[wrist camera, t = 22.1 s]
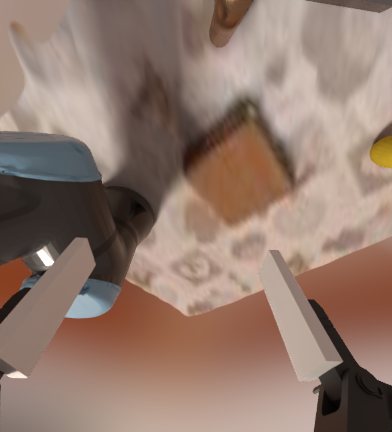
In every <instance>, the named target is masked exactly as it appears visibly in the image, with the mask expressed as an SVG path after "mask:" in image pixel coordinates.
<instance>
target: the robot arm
mask: <svg viewBox="0 0 392 432" xmlns="http://www.w3.org/2000/svg"><path fill="white" fill-rule="evenodd" d="M101 179H102V175H101V173H100V172H99V171H98V169H97V166H96V163H95V161H94V158H93V156H92V153H91V151H90V149H89V148H88V146H87V145H86V144H85V143H83V142H82V141H80V140H78V139H76V138H73V137H69V136H64V135H57V134H47V133H33V132H11V131H0V266H1V265H3V264H6V263H8V262H11V261H14V260H16V259H18V258H20V259H21V260H22V261H23V262H24V263H25V264H26V265H27V267H28V268H29V269H30V271H31V272H32V274H31V276H30V277H28V278H27V279H25V280H24V281H23V283H22V286H21V288H20V290H19V292H17V293H16V294H14V295H13V296H12V297H11V298H10V299H9V300H8V301H7V302H6V303H5V304H4V305H3V308H1V309H0V379H1V377H2V376H3V374H6V375H7V376H9V377H10V378H28V377H29V376H30V374H31V372H32V371H33V369H34V367H35V366H36V364H37V362H38V361H39V359H40V357H41V356H42V354H43V352H44V351H45V349H46V347H47V346H48V344H49V342H50V340H51V339H52V337H53V336H54V334H55V332H56V331H57V329H58V327H59V326H60V324H61V322H62V321H63V319H64V317H69V318H90V317H95V316H99V315H102V314H103V313H105V312H107V311H108V310H110V308H111V307H112V306H113V304H114V302H115V300H116V299H117V297H118V294H119V293H120V292H121V287H122V284H123V282H124V279H125V276H126V274H127V271H128V268H129V266H130V263H131V261H132V258H133V255H134V253H135V250H136V247H137V246H138V245H139V244H140V243H141V242H142V241H143V240H144V239H145V238H146V237H147V236H148V234H149V233H150V231H151V229H152V226H153V223H154V214H153V210H152V208H151V206H150V205H149V203H148V202H147V201H146V200H145V199H144V198H143V197H142V196H141V195H139V194H138V193H136V192H134V191H132V190H130V189H127V188H123V187H108V188H105V189H104V186H103V183H102V180H101ZM258 275H259V278H260V280H261V283H262V286H263V288H264V291H265V293H266V296H267V299H268V301H269V304H270V307H271V309H272V312H273V314H274V317H275V320H276V322H277V325H278V327H279V330H280V333H281V335H282V338H283V341H284V343H285V346H286V349H287V351H288V354H289V357H290V359H291V362H292V364H293V367H294V370H295V372H296V375H297V378H298V380H299V381H314V380H315V379H317V378H318V377H319V379H320V381H321V383H322V384H321V385H319V386H317V387H315V388H314V390H313V393H314V394H316V393H318V392H319V396H318V397H319V398H318V404H317V412H316V420H315V427H314V432H392V386H391V385H388V384H386V383H383V382H381V381H379V380H377V379H376V378H375V377H374V376H373V375H372V374H370V373H369V372H368V371H367V370H366V369H364V368H362V367H360V366H359V365H358V363H357V362H356V361H355V359H354V358H353V356H352V355H351V353H350V351H349V350H348V348H347V347H346V345H345V343H344V342H343V340H342V339H341V337H340V335H339V334H338V332H337V331H336V329H335V328H334V327H333V324H332V323H331V321H330V320H329V319H328V317H327V315H326V314H325V312H324V310H323V308H322V307H321V306H320V305H319V304H318V303H317V302H316V301H315V300H309V299H306V297H305V295H304V293H303V291H302V290H301V288H300V286H299V285H298V283H297V281H296V279H295V278H294V276H293V274H292V272H291V271H290V269H289V267H288V266H287V264H286V262H285V260H284V259H283V257H282V255H281V253H280V252H279V250H269V251H268V253H267V255H266V257H265V259H264V262H263V264H262V266H261V268H260V270H259V272H258ZM0 387H1V385H0ZM0 389H1V388H0Z"/></svg>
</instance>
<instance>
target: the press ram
mask: <svg viewBox="0 0 392 432" xmlns="http://www.w3.org/2000/svg"><path fill="white" fill-rule="evenodd" d="M252 1H253V0H215V5H214V12H213V16H212V21H211V25H210V30H209V35H210V40H211V42H212V43H213V45H214V46H216V47H224V46H225V45H226V44H227V43H228V42H229V40H230V39H231V37H232V35H233V33H234V32H235V30H236V28H237V27H238V25H239V23H240V21H241V20H242V18H243V16H244V15H245V13H246V11H247V10H248V8H249V6H250V4H251V3H252Z"/></svg>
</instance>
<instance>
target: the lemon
mask: <svg viewBox="0 0 392 432" xmlns="http://www.w3.org/2000/svg"><path fill="white" fill-rule="evenodd" d="M370 158H371V160H372V161H373V162H374V163H375V164H377V165H379V166H382V167H386V168H392V135H391V136H387V137H385V138H382V139H381V140H379V141H378V142H376V143H375V144H374V145H373V147H372V148H371V150H370Z"/></svg>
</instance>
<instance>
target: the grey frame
mask: <svg viewBox="0 0 392 432" xmlns="http://www.w3.org/2000/svg"><path fill="white" fill-rule="evenodd" d="M307 1H313V2H319V3H325V4H331V5H337V6H343V7H349V8H355V9H361V10H367V11H373V12H379V13H380V12H382V11H385V10H387V9H389V8H391V7H392V0H307Z"/></svg>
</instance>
